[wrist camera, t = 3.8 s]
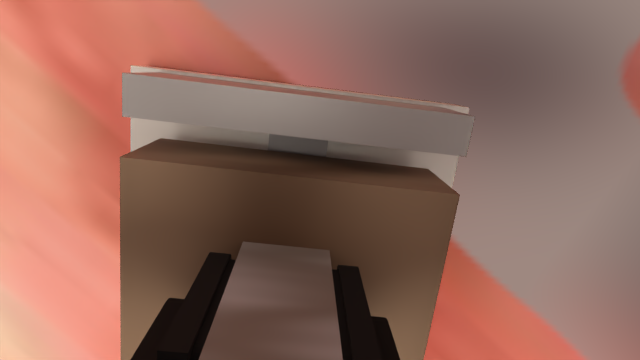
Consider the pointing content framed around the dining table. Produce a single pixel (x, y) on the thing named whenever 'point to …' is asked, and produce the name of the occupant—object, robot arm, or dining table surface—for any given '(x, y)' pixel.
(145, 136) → the rail bed
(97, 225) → the dining table surface
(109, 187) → the dining table surface
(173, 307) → the robot arm
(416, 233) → the carriage
